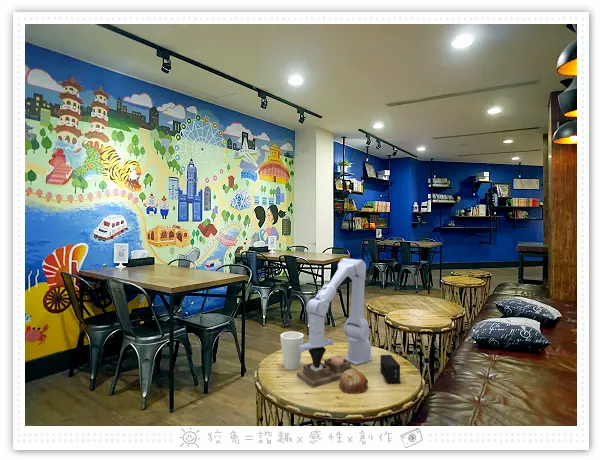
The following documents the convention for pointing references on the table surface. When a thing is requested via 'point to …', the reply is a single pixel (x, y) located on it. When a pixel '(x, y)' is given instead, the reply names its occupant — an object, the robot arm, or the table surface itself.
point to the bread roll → (353, 381)
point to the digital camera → (390, 369)
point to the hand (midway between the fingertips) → (316, 366)
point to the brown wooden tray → (324, 372)
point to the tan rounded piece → (337, 360)
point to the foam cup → (291, 349)
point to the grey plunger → (316, 368)
